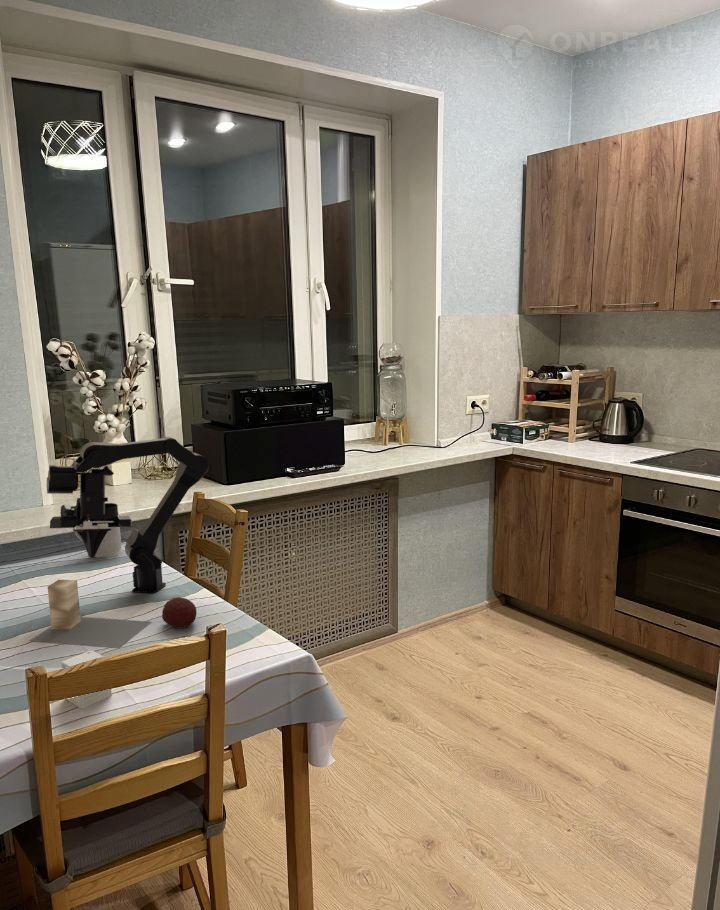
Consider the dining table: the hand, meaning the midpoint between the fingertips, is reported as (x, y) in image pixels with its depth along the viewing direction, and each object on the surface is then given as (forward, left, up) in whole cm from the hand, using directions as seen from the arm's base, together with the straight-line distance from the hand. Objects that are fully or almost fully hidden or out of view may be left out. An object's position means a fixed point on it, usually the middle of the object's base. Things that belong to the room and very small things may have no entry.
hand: (91, 557), depth 169 cm
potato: (-27, +9, -12) cm, 31 cm away
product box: (-25, +42, -12) cm, 50 cm away
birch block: (-1, +14, -12) cm, 18 cm away
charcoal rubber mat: (-9, +16, -12) cm, 22 cm away
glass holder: (+22, -37, -12) cm, 45 cm away
